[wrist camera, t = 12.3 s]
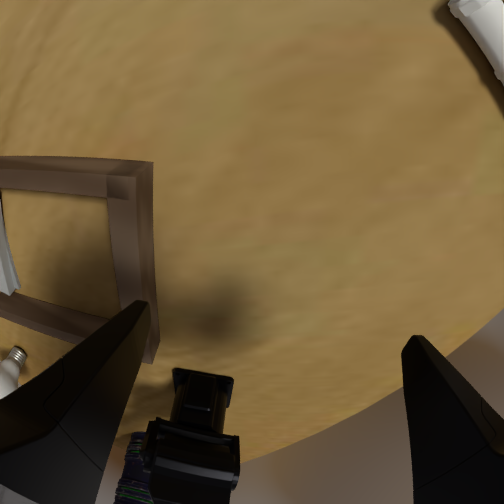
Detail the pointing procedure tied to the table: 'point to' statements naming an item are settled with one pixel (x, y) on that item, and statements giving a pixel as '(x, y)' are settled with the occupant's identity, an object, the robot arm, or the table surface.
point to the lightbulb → (11, 371)
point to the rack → (121, 231)
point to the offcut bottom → (11, 262)
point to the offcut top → (5, 263)
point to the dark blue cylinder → (133, 475)
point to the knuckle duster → (484, 28)
